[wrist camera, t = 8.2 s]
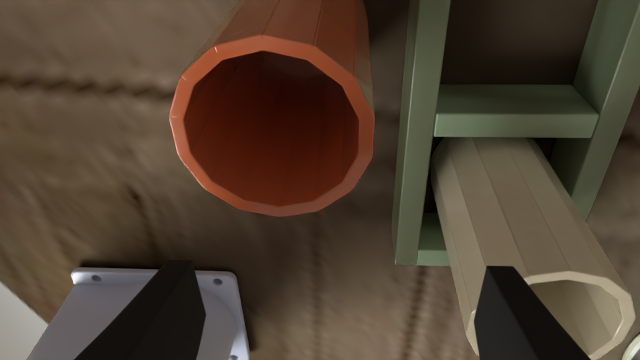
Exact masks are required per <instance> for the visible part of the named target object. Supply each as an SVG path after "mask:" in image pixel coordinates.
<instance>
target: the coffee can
mask: <svg viewBox="0 0 640 360" xmlns="http://www.w3.org/2000/svg"><path fill="white" fill-rule="evenodd" d="M622 360H640V334H639V335H637V336H636V337H635V338H634V339H633V340H632V342H631V343H630V344H629V346H628V347H627V349H626V350H625V352H624V354H623V357H622Z"/></svg>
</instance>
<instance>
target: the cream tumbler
mask: <svg viewBox="0 0 640 360" xmlns="http://www.w3.org/2000/svg"><path fill="white" fill-rule="evenodd" d="M430 174H431V184H432V188H433V193H434V197H435V201H436V206H437V210H438V215H439V219H440V223H441V228H442V232H443V236H444V241H445V245H446V250H447V254H448V258H449V263H450V267H451V271H452V276H453V280H454V284H455V289H456V293H457V298H458V302H459V306H460V311H461V315H462V319H463V324H464V328H465V333H466V336H467V338H468V340H469V342H470V344H471V346H472V348H473V350H474V352H475V354H477V356H479V351H478V346H477V340H476V333H475V327H474V317H475V313H476V309H477V305H478V300H479V296H480V292H481V288H482V283H483V279H484V275H485V271H486V266H513V267H514V268H515V269H516V270H517V271H518V272H519V274H520V275H521V276H522V277H523V279H524V280H525V281H526V283H527V284H528V285H529V286H530V288H531V289H532V290H533V291H534V293H535V294H536V295H537V297H538V298H539V299H540V300H541V302H542V303H543V304H544V305H545V306H546V308H547V309H548V310H549V311H550V313H551V314H552V315H553V316H554V317H555V319H556V320H557V321H558V322H559V323H560V325H561V326H562V327H563V328H564V329H565V330H566V332H567V333H568V334H569V335H570V336H571V337H572V338H573V340H574V341H575V342H576V343H577V344H578V345H579V347H580V348H581V349H582V350H583V351H584V352H585V353H586V354H587V355H588V357H589V358H590V359H591V360H597V359H599V358H600V357H602V356H603V355H605V354H606V353H607V352H609V351H610V350H612V349H613V348H614V347H616V346H617V345H619V344H620V343H621V342H622V341H623V340H624V339H625V337H626V335H627V333H628V332H629V330H630V328H631V326H632V324H633V323H634V321H635V318H636V316H635V311H634V306H633V301H632V297H631V294H630V293H629V291H628V289H627V288H626V286H625V285H624V283H623V281H622V280H621V278H620V276H619V275H618V273H617V272H616V270H615V268H614V267H613V265H612V264H611V262H610V260H609V259H608V257H607V255H606V254H605V252H604V251H603V249H602V247H601V246H600V244H599V243H598V241H597V239H596V238H595V236H594V235H593V233H592V231H591V230H590V228H589V226H588V225H587V223H586V222H585V220H584V218H583V217H582V215H581V214H580V212H579V210H578V209H577V207H576V205H575V204H574V202H573V201H572V199H571V197H570V196H569V194H568V193H567V191H566V189H565V188H564V186H563V185H562V183H561V181H560V180H559V178H558V176H557V175H556V173H555V172H554V170H553V168H552V167H551V165H550V164H549V162H548V160H547V159H546V157H545V155H544V154H543V152H542V151H541V149H540V147H539V146H538V144H537V143H536V142H535V141H534V140H533V139H532V138H530V137H444V138H443V139H442V141H441V142H440V143H439V144H438V146H437V147H436V149H435V151H434V153H433V156H432V158H431V163H430Z"/></svg>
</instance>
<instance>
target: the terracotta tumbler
mask: <svg viewBox="0 0 640 360" xmlns="http://www.w3.org/2000/svg"><path fill="white" fill-rule="evenodd" d="M169 120H170V124H171V129H172V133H173V137H174V141H175V146H176V150H177V154H178V156H179V158H180V159H181V160H182V162H183V163H184V164H185V165H186V167H187V168H188V169H189V171H190V172H191V173H192V174H193V176H194V177H195V178H196V179H197V181H198V182H199V183H200V185H201V186H202V187H204V189H206V190H207V191H209V192H211V193H212V194H214V195H216V196H217V197H219V198H221V199H223V200H224V201H226V202H228V203H229V204H231V205H233V206H234V207H236V208H238V209H239V208H240V210H245V211H250V212H255V213H260V214H266V215H271V216H276V217H279V216H280V217H284V216H290V215H297V214H303V213H309V212H315V211H319V210H321V209H323V208H325V207H326V206H328V205H329V204H331V203H333V202H334V201H336V200H338V199H339V198H341V197H342V196H344V195H346V194H347V193H349V192H351V190H353V189H354V187H355V185H356V184H357V182H358V181H359V179H360V177H361V176H362V174H363V173H364V171H365V169H366V168H367V166H368V164H369V163H370V161H371V160H372V157H373V145H374V124H375V114H374V101H373V87H372V74H371V60H370V47H369V33H368V19H367V10H366V8H365V5H364V1H363V0H238V2H237V3H236V4H235V5H234V7H233V8H232V9H231V11H230V12H229V13H228V15H227V16H226V17H225V18H224V20H223V21H222V22H221V24H220V25H219V26H218V27H217V29H216V30H215V31H214V33H213V34H212V35H211V37H210V38H209V39H208V40H207V42H206V43H205V44H204V46H203V47H202V48H201V49H200V51H199V52H198V53H197V55H196V56H195V57H194V58H193V60H192V61H191V62H190V64H189V65H188V66H187V68H186V69H185V70H184V71H183V73H182V74H181V76H180V77H179V81H178V84H177V87H176V91H175V94H174V98H173V101H172V105H171V108H170V111H169Z"/></svg>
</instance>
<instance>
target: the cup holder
mask: <svg viewBox="0 0 640 360" xmlns="http://www.w3.org/2000/svg"><path fill="white" fill-rule="evenodd" d="M450 2H451V0H410V2H409V14H408V26H407V38H406V50H405V62H404V74H403V87H402V99H401V111H400V123H399V135H398V147H397V159H396V172H395V184H394V196H393V208H392V220H391V233H392V243H393V254H394V263H395V265H422V266H450V263H449V258H448V254H447V250H446V245H445V241H444V236H443V232H442V228H441V223H440V219H439V215H438V213H423V208H424V201H425V193H426V186H427V178H428V170H429V163H430V155H431V147H432V140H433V136H435V137H530V138H556V141H555V144H554V148H553V151H552V154H551V157H550V161H549V164H550V165H551V167H552V168H553V170H554V172H555V173H556V175H557V176H558V178H559V180H560V181H561V183H562V185H563V186H564V188H565V189H566V191H567V193H568V194H569V196H570V197H571V199H572V201H573V202H574V204H575V205H576V207H577V209H578V210H579V212H580V214H581V215H582V217H583V218H584V220H585V222H587V219H588V217H589V214H590V212H591V209H592V207H593V204H594V201H595V199H596V196H597V194H598V191H599V189H600V186H601V184H602V181H603V179H604V176H605V173H606V171H607V168H608V166H609V163H610V161H611V158H612V156H613V153H614V151H615V148H616V146H617V143H618V140H619V138H620V135H621V133H622V130H623V128H624V125H625V123H626V120H627V118H628V115H629V113H630V110H631V107H632V105H633V102H634V100H635V97H636V95H637V92H638V90H639V87H640V0H598V3H597V6H596V10H595V13H594V16H593V20H592V23H591V26H590V29H589V33H588V36H587V39H586V43H585V46H584V49H583V52H582V56H581V59H580V62H579V66H578V69H577V72H576V75H575V79H574V82H573V85H440V79H441V71H442V63H443V56H444V48H445V40H446V33H447V25H448V17H449V10H450Z"/></svg>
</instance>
